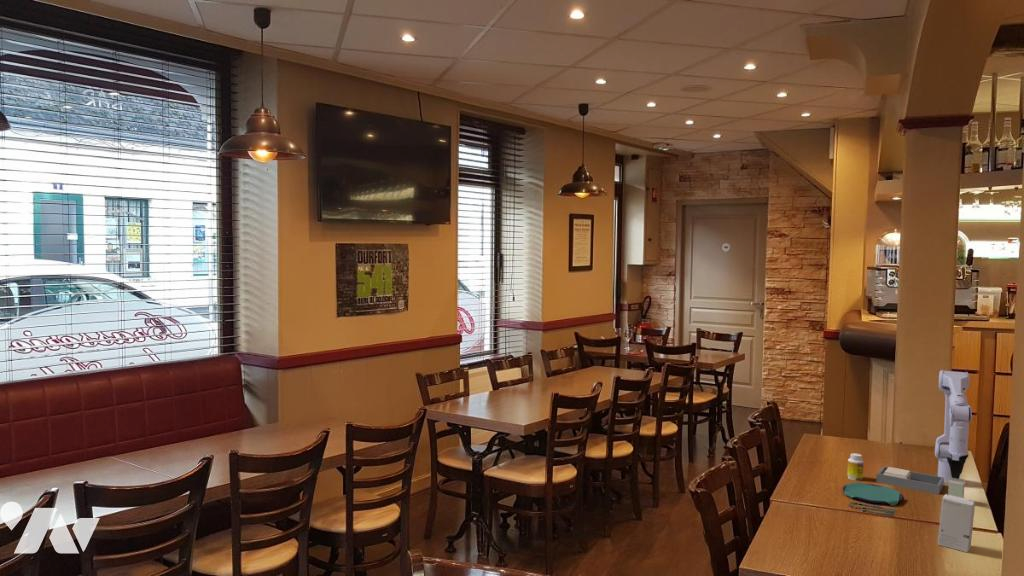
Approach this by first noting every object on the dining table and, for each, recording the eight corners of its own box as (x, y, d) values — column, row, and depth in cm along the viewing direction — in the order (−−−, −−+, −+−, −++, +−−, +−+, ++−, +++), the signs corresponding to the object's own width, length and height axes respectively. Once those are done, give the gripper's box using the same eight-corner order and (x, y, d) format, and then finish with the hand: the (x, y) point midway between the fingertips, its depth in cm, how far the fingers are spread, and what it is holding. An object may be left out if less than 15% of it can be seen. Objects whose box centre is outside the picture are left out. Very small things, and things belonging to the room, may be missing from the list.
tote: (883, 476, 286) (883, 466, 286) (943, 487, 273) (944, 477, 273) (876, 484, 276) (876, 473, 276) (938, 496, 263) (939, 485, 263)
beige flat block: (887, 476, 283) (888, 466, 283) (910, 480, 279) (910, 470, 278) (883, 481, 276) (883, 471, 276) (906, 486, 271) (906, 476, 271)
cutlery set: (903, 494, 266) (903, 488, 265) (900, 520, 240) (900, 514, 240) (845, 484, 276) (845, 479, 275) (836, 509, 250) (836, 503, 250)
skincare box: (937, 545, 218) (940, 497, 217) (941, 539, 223) (943, 492, 222) (969, 553, 213) (972, 504, 212) (972, 547, 217) (975, 499, 217)
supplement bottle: (857, 483, 276) (858, 457, 276) (844, 479, 281) (845, 453, 280) (865, 481, 279) (866, 455, 279) (852, 477, 284) (853, 451, 284)
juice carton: (949, 498, 262) (950, 476, 261) (963, 501, 259) (964, 479, 259) (947, 501, 258) (948, 479, 258) (962, 504, 255) (963, 482, 255)
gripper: (948, 432, 266) (946, 468, 266) (943, 440, 254) (941, 478, 255) (970, 436, 261) (968, 472, 262) (966, 444, 250) (964, 482, 251)
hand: (956, 475), depth 258 cm, fingers open, 7 cm apart
